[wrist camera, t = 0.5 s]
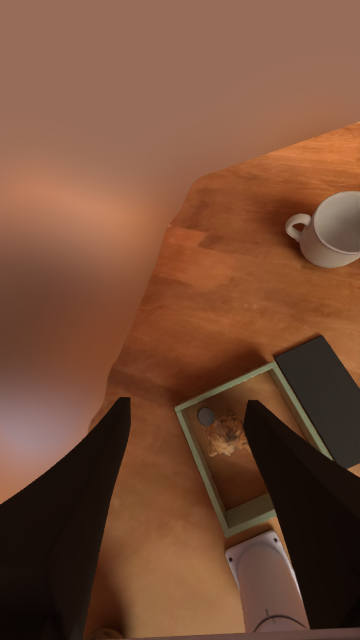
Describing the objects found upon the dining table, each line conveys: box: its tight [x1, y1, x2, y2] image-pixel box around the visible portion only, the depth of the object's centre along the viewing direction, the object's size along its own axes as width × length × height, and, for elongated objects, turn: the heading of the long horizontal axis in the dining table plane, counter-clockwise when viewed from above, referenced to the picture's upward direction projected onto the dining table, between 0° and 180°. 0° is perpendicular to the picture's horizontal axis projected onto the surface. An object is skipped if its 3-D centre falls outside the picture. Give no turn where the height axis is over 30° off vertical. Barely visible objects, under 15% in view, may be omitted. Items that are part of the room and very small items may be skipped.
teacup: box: [285, 191, 360, 268], centre depth 33 cm, size 14×11×8 cm
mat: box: [274, 335, 360, 469], centre depth 31 cm, size 18×9×1 cm, turn 24°
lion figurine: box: [206, 412, 252, 457], centre depth 27 cm, size 15×5×9 cm, turn 76°
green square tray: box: [174, 361, 332, 538], centre depth 30 cm, size 18×18×4 cm
